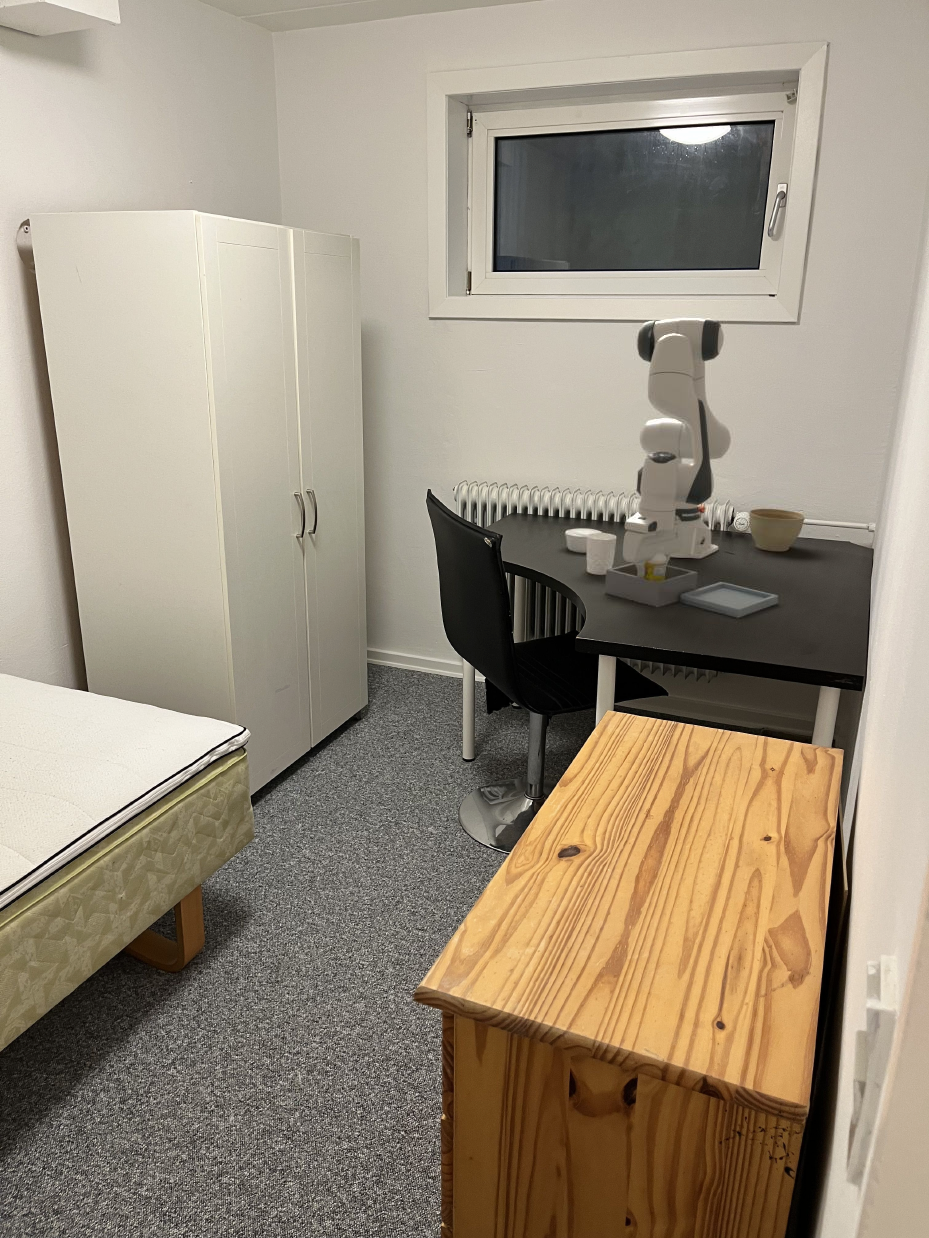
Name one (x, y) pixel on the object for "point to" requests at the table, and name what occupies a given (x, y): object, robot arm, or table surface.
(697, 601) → the tray
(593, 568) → the white cup
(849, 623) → the table surface
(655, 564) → the supplement bottle
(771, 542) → the planter bowl
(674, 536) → the robot arm
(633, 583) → the deep holder
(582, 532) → the ramekin
